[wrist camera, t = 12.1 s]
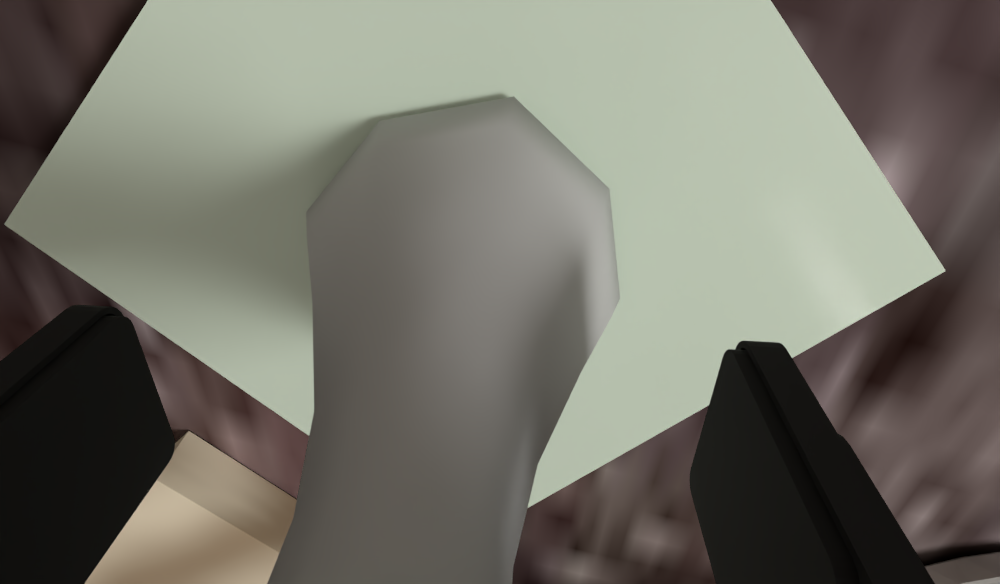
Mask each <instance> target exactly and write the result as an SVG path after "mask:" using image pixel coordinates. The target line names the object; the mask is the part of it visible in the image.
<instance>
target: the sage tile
mask: <svg viewBox="0 0 1000 584" xmlns="http://www.w3.org/2000/svg"><path fill="white" fill-rule="evenodd" d="M513 96H514V97H515V98H516V99H517V100H518V101H519V102H520V103H521V104H522V105H523V106H524V107H525V108H526V109H527V110H528V111H529V112H530V113H532V114H533V115H534V116H535V117H536V118H537V119H538V120H539V121H540V122H541V123H542V124H543V125H544V126H545V127H546V128H547V129H548V130H549V131H550V132H551V133H552V134H553V135H554V136H555V137H556V138H557V139H558V140H560V141H561V142H562V143H563V144H564V145H565V146H566V147H567V148H568V149H569V150H570V151H571V152H572V153H573V154H574V155H575V156H576V157H577V158H578V159H579V160H580V161H581V162H582V163H583V164H584V165H585V166H587V167H588V168H589V169H590V170H591V171H592V172H593V173H594V174H595V175H596V176H597V177H598V178H599V179H600V180H601V181H602V182H603V183H604V184H605V185H606V186H607V187H608V188H609V189H610V199H611V209H612V220H613V230H614V240H615V250H616V261H617V271H618V281H619V291H620V300H619V302H618V304H617V306H616V309H615V311H614V313H613V315H612V317H611V319H610V321H609V322H608V324H607V326H606V328H605V330H604V332H603V333H602V335H601V337H600V339H599V341H598V342H597V344H596V346H595V348H594V350H593V351H592V353H591V355H590V357H589V359H588V361H587V362H586V364H585V366H584V368H583V370H582V371H581V373H580V376H579V378H578V380H577V382H576V384H575V386H574V388H573V390H572V393H571V395H570V397H569V399H568V401H567V403H566V405H565V407H564V410H563V412H562V414H561V416H560V418H559V420H558V422H557V425H556V427H555V429H554V431H553V433H552V435H551V437H550V439H549V442H548V444H547V446H546V448H545V450H544V452H543V454H542V456H541V459H540V461H539V463H538V465H537V470H536V474H535V478H534V482H533V486H532V491H531V495H530V499H529V503H528V507H530V506H532V505H534V504H535V503H537V502H539V501H541V500H542V499H544V498H546V497H548V496H550V495H551V494H553V493H555V492H557V491H558V490H560V489H562V488H564V487H565V486H567V485H569V484H571V483H572V482H574V481H576V480H578V479H580V478H581V477H583V476H585V475H587V474H588V473H590V472H592V471H594V470H595V469H597V468H599V467H601V466H602V465H604V464H606V463H608V462H609V461H611V460H613V459H615V458H617V457H618V456H620V455H622V454H624V453H625V452H627V451H629V450H631V449H632V448H634V447H636V446H638V445H639V444H641V443H643V442H645V441H647V440H648V439H650V438H652V437H654V436H655V435H657V434H659V433H661V432H662V431H664V430H666V429H668V428H669V427H671V426H673V425H675V424H676V423H678V422H680V421H682V420H684V419H685V418H687V417H689V416H691V415H692V414H694V413H696V412H698V411H699V410H701V409H703V408H705V407H706V406H708V405H709V404H710V400H711V397H712V393H713V390H714V386H715V383H716V379H717V376H718V372H719V369H720V365H721V362H722V358H723V355H724V353H725V351H726V350H728V349H734V350H735V349H736V346H737V345H738V343H739V342H741V341H761V342H778V343H781V344H783V345H784V347H785V348H786V349H787V351H788V353H789V354H790V356H791V358H793V357H795V356H796V355H798V354H800V353H802V352H803V351H805V350H807V349H809V348H811V347H812V346H814V345H816V344H818V343H819V342H821V341H823V340H825V339H826V338H828V337H830V336H832V335H833V334H835V333H837V332H839V331H840V330H842V329H844V328H846V327H848V326H849V325H851V324H853V323H855V322H856V321H858V320H860V319H862V318H863V317H865V316H867V315H869V314H870V313H872V312H874V311H876V310H878V309H879V308H881V307H883V306H885V305H886V304H888V303H890V302H892V301H893V300H895V299H897V298H899V297H900V296H902V295H904V294H906V293H907V292H909V291H911V290H913V289H915V288H916V287H918V286H920V285H922V284H923V283H925V282H927V281H929V280H930V279H932V278H934V277H936V276H937V275H939V274H941V273H943V272H945V269H944V268H943V266H942V264H941V263H940V261H939V260H938V258H937V257H936V255H935V254H934V252H933V251H932V249H931V247H930V246H929V244H928V243H927V241H926V240H925V238H924V237H923V235H922V234H921V232H920V230H919V229H918V227H917V226H916V224H915V223H914V221H913V220H912V218H911V217H910V215H909V213H908V212H907V210H906V209H905V207H904V206H903V204H902V203H901V201H900V200H899V198H898V196H897V195H896V193H895V192H894V190H893V189H892V187H891V186H890V184H889V183H888V181H887V179H886V178H885V176H884V175H883V173H882V172H881V170H880V169H879V167H878V166H877V164H876V162H875V161H874V159H873V158H872V156H871V155H870V153H869V152H868V150H867V149H866V147H865V145H864V144H863V142H862V141H861V139H860V138H859V136H858V135H857V133H856V132H855V130H854V128H853V127H852V125H851V124H850V122H849V121H848V119H847V118H846V116H845V115H844V113H843V111H842V110H841V108H840V107H839V105H838V104H837V102H836V101H835V99H834V98H833V96H832V94H831V93H830V91H829V90H828V88H827V87H826V85H825V84H824V82H823V81H822V79H821V77H820V76H819V74H818V73H817V71H816V70H815V68H814V67H813V65H812V64H811V62H810V60H809V59H808V57H807V56H806V54H805V53H804V51H803V50H802V48H801V47H800V45H799V43H798V42H797V40H796V39H795V37H794V36H793V34H792V33H791V31H790V30H789V28H788V26H787V25H786V23H785V22H784V20H783V19H782V17H781V16H780V14H779V13H778V11H777V9H776V8H775V6H774V5H773V3H772V2H771V0H148V1H147V3H146V4H145V6H144V7H143V9H142V10H141V12H140V13H139V15H138V17H137V18H136V20H135V21H134V23H133V24H132V26H131V27H130V29H129V31H128V32H127V34H126V35H125V37H124V38H123V40H122V41H121V43H120V45H119V46H118V48H117V49H116V51H115V52H114V54H113V55H112V57H111V59H110V60H109V62H108V63H107V65H106V66H105V68H104V70H103V71H102V73H101V74H100V76H99V77H98V79H97V80H96V82H95V84H94V85H93V87H92V88H91V90H90V91H89V93H88V94H87V96H86V98H85V99H84V101H83V102H82V104H81V105H80V107H79V108H78V110H77V112H76V113H75V115H74V116H73V118H72V119H71V121H70V122H69V124H68V126H67V127H66V129H65V130H64V132H63V133H62V135H61V137H60V138H59V140H58V141H57V143H56V144H55V146H54V147H53V149H52V151H51V152H50V154H49V155H48V157H47V158H46V160H45V161H44V163H43V165H42V166H41V168H40V169H39V171H38V172H37V174H36V175H35V177H34V179H33V180H32V182H31V183H30V185H29V186H28V188H27V189H26V191H25V193H24V194H23V196H22V197H21V199H20V200H19V202H18V204H17V205H16V207H15V208H14V210H13V211H12V213H11V214H10V216H9V218H8V219H7V221H6V222H5V224H4V225H6V226H7V227H8V228H10V229H11V230H13V231H14V232H16V233H17V234H19V235H20V236H21V237H23V238H24V239H26V240H27V241H29V242H30V243H32V244H33V245H34V246H36V247H37V248H39V249H40V250H42V251H43V252H45V253H46V254H47V255H49V256H50V257H52V258H53V259H55V260H56V261H58V262H59V263H60V264H62V265H63V266H65V267H66V268H68V269H69V270H70V271H72V272H73V273H75V274H76V275H78V276H79V277H81V278H82V279H83V280H85V281H86V282H88V283H89V284H91V285H92V286H94V287H95V288H96V289H98V290H99V291H101V292H102V293H104V294H105V295H107V296H108V297H109V298H111V299H112V300H114V301H115V302H117V303H118V304H120V305H121V306H122V307H124V308H125V309H127V310H128V311H130V312H131V313H133V314H134V315H135V316H137V317H138V318H140V319H141V320H143V321H144V322H146V323H147V324H148V325H150V326H151V327H153V328H154V329H156V330H157V331H159V332H160V333H161V334H163V335H164V336H166V337H167V338H169V339H170V340H172V341H173V342H174V343H176V344H177V345H179V346H180V347H182V348H183V349H185V350H186V351H187V352H189V353H190V354H192V355H193V356H195V357H196V358H198V359H199V360H200V361H202V362H203V363H205V364H206V365H208V366H209V367H211V368H212V369H213V370H215V371H216V372H218V373H219V374H221V375H222V376H223V377H225V378H226V379H228V380H229V381H231V382H232V383H234V384H235V385H236V386H238V387H239V388H241V389H242V390H244V391H245V392H247V393H248V394H249V395H251V396H252V397H254V398H255V399H257V400H258V401H260V402H261V403H262V404H264V405H265V406H267V407H268V408H270V409H271V410H273V411H274V412H275V413H277V414H278V415H280V416H281V417H283V418H284V419H286V420H287V421H288V422H290V423H291V424H293V425H294V426H296V427H297V428H299V429H300V430H301V431H303V432H304V433H306V434H307V435H310V430H311V425H312V419H313V414H314V368H313V313H312V292H311V280H310V268H309V256H308V244H307V226H306V212H307V210H308V209H309V208H310V207H311V205H312V204H313V203H314V202H315V200H316V199H317V198H318V197H319V195H320V194H321V193H322V192H323V190H324V189H325V188H326V187H327V185H328V184H329V183H330V182H331V180H332V179H333V178H334V177H335V175H336V174H337V173H338V172H339V171H340V169H341V168H342V167H343V166H344V164H345V163H346V162H347V161H348V159H349V158H350V157H351V156H352V154H353V153H354V152H355V151H356V149H357V148H358V147H359V146H360V144H361V143H362V142H363V141H364V139H365V138H366V137H367V136H368V134H369V133H370V132H371V131H372V129H373V128H374V127H375V126H376V124H377V123H378V122H379V121H381V120H386V119H392V118H398V117H403V116H409V115H414V114H420V113H425V112H431V111H436V110H442V109H447V108H453V107H458V106H464V105H469V104H475V103H480V102H486V101H491V100H497V99H502V98H508V97H513ZM528 507H527V508H528Z"/></svg>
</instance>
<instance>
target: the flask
mask: <svg viewBox="0 0 1000 584" xmlns="http://www.w3.org/2000/svg"><path fill="white" fill-rule="evenodd" d="M306 226H307V244H308V256H309V268H310V280H311V292H312V313H313V368H314V414H313V419H312V425H311V430H310V435H309V440H308V445H307V450H306V455H305V460H304V466H303V471H302V476H301V481H300V486H299V491H298V496H297V502H296V507H295V512H294V517H293V520H292V523H291V525H290V528H289V530H288V533H287V535H286V538H285V540H284V543H283V545H282V548H281V550H280V553H279V555H278V558H277V560H276V563H275V565H274V568H273V570H272V573H271V575H270V578H269V580H268V583H267V584H512V580H513V566H514V562H515V558H516V553H517V549H518V545H519V541H520V537H521V533H522V528H523V524H524V520H525V516H526V512H527V507H528V503H529V499H530V495H531V491H532V486H533V482H534V478H535V474H536V470H537V465H538V463H539V461H540V459H541V456H542V454H543V452H544V450H545V448H546V446H547V444H548V442H549V439H550V437H551V435H552V433H553V431H554V429H555V427H556V425H557V422H558V420H559V418H560V416H561V414H562V412H563V410H564V407H565V405H566V403H567V401H568V399H569V397H570V395H571V393H572V390H573V388H574V386H575V384H576V382H577V380H578V378H579V376H580V373H581V371H582V370H583V368H584V366H585V364H586V362H587V361H588V359H589V357H590V355H591V353H592V351H593V350H594V348H595V346H596V344H597V342H598V341H599V339H600V337H601V335H602V333H603V332H604V330H605V328H606V326H607V324H608V322H609V321H610V319H611V317H612V315H613V313H614V311H615V309H616V306H617V304H618V302H619V300H620V291H619V281H618V271H617V261H616V250H615V240H614V230H613V220H612V209H611V199H610V189H609V188H608V187H607V186H606V185H605V184H604V183H603V182H602V181H601V180H600V179H599V178H598V177H597V176H596V175H595V174H594V173H593V172H592V171H591V170H590V169H589V168H588V167H587V166H585V165H584V164H583V163H582V162H581V161H580V160H579V159H578V158H577V157H576V156H575V155H574V154H573V153H572V152H571V151H570V150H569V149H568V148H567V147H566V146H565V145H564V144H563V143H562V142H561V141H560V140H558V139H557V138H556V137H555V136H554V135H553V134H552V133H551V132H550V131H549V130H548V129H547V128H546V127H545V126H544V125H543V124H542V123H541V122H540V121H539V120H538V119H537V118H536V117H535V116H534V115H533V114H532V113H530V112H529V111H528V110H527V109H526V108H525V107H524V106H523V105H522V104H521V103H520V102H519V101H518V100H517V99H516V98H515V97H514V96H513V97H508V98H502V99H497V100H491V101H486V102H480V103H475V104H469V105H464V106H458V107H453V108H447V109H442V110H436V111H431V112H425V113H420V114H414V115H409V116H403V117H398V118H392V119H386V120H381V121H379V122H378V123H377V124H376V126H375V127H374V128H373V129H372V131H371V132H370V133H369V134H368V136H367V137H366V138H365V139H364V141H363V142H362V143H361V144H360V146H359V147H358V148H357V149H356V151H355V152H354V153H353V154H352V156H351V157H350V158H349V159H348V161H347V162H346V163H345V164H344V166H343V167H342V168H341V169H340V171H339V172H338V173H337V174H336V175H335V177H334V178H333V179H332V180H331V182H330V183H329V184H328V185H327V187H326V188H325V189H324V190H323V192H322V193H321V194H320V195H319V197H318V198H317V199H316V200H315V202H314V203H313V204H312V205H311V207H310V208H309V209H308V210H307V212H306Z"/></svg>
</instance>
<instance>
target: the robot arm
mask: <svg viewBox="0 0 1000 584" xmlns="http://www.w3.org/2000/svg"><path fill="white" fill-rule="evenodd" d="M174 449H175V439H174V436H173V433H172V430H171V427H170V425H169V422H168V419H167V416H166V414H165V411H164V408H163V405H162V403H161V400H160V397H159V394H158V392H157V389H156V386H155V383H154V381H153V378H152V375H151V373H150V370H149V367H148V364H147V362H146V359H145V356H144V353H143V351H142V348H141V345H140V342H139V340H138V337H137V334H136V331H135V329H134V326H133V324H132V322H131V320H129V319H128V318H127V317H124V316H123V314H122V313H121V312H120V311H119V310H118V309H117V308H114V307H107V306H88V305H75V306H71V307H69V308H67V309H66V310H64V311H63V312H62V313H61V314H59V315H58V316H57V317H56V318H54V319H53V320H52V321H51V322H49V323H48V324H47V325H46V326H44V327H43V328H42V329H41V330H39V331H38V332H37V333H35V334H34V335H33V336H32V337H30V338H29V339H28V340H27V341H25V342H24V343H23V344H22V345H20V346H19V347H18V348H17V349H15V350H14V351H13V352H11V353H10V354H9V355H8V356H6V357H5V358H4V359H3V360H1V361H0V584H84V583H85V582H86V581H87V579H88V578H89V576H90V575H91V573H92V572H93V571H94V569H95V568H96V566H97V565H98V563H99V562H100V561H101V559H102V558H103V556H104V555H105V553H106V552H107V551H108V549H109V548H110V546H111V545H112V543H113V542H114V541H115V539H116V538H117V536H118V535H119V533H120V532H121V531H122V529H123V528H124V526H125V525H126V523H127V522H128V521H129V519H130V518H131V516H132V515H133V513H134V512H135V511H136V509H137V508H138V506H139V505H140V503H141V502H142V500H143V499H144V498H145V496H146V495H147V493H148V492H149V490H150V489H151V488H152V486H153V485H154V483H155V482H156V480H157V479H158V478H159V476H160V475H161V473H162V472H163V470H164V469H165V468H166V466H167V465H168V463H169V462H170V460H171V458H172V456H173V453H174ZM690 489H691V494H692V498H693V501H694V505H695V509H696V512H697V516H698V519H699V523H700V527H701V530H702V534H703V537H704V541H705V545H706V548H707V552H708V555H709V559H710V563H711V566H712V570H713V574H714V577H715V581H716V584H1000V552H994V553H987V554H979V555H972V556H965V557H960V558H956V559H951V560H947V561H943V562H939V563H935V564H930V565H926V566H924V565H923V563H922V562H921V560H920V558H919V557H918V555H917V554H916V552H915V550H914V549H913V547H912V545H911V544H910V542H909V541H908V539H907V537H906V536H905V534H904V532H903V531H902V529H901V527H900V526H899V524H898V523H897V521H896V519H895V518H894V516H893V514H892V513H891V511H890V510H889V508H888V506H887V505H886V503H885V501H884V500H883V498H882V497H881V495H880V493H879V492H878V490H877V488H876V487H875V485H874V484H873V482H872V480H871V479H870V477H869V475H868V474H867V472H866V471H865V469H864V467H863V466H862V464H861V462H860V461H859V459H858V458H857V456H856V454H855V453H854V451H853V449H852V448H851V446H850V445H849V444H848V442H847V441H846V440H845V439H844V437H843V436H841V435H839V434H837V432H836V430H835V429H834V427H833V426H832V424H831V422H830V421H829V419H828V417H827V416H826V414H825V412H824V411H823V409H822V407H821V406H820V404H819V402H818V401H817V399H816V397H815V396H814V394H813V392H812V391H811V389H810V387H809V386H808V384H807V382H806V381H805V379H804V377H803V376H802V374H801V373H800V371H799V369H798V368H797V366H796V364H795V363H794V361H793V359H792V358H791V356H790V354H789V353H788V351H787V349H786V348H785V347H784V345H783V344H781V343H778V342H761V341H741V342H739V343H738V345H737V346H736V349H735V350H734V349H728V350H726V351H725V353H724V355H723V358H722V362H721V365H720V369H719V372H718V376H717V379H716V383H715V386H714V390H713V393H712V397H711V400H710V404H709V407H708V411H707V414H706V418H705V421H704V425H703V428H702V432H701V435H700V439H699V442H698V446H697V449H696V453H695V456H694V460H693V463H692V467H691V471H690Z"/></svg>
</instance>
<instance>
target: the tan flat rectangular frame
mask: <svg viewBox="0 0 1000 584" xmlns="http://www.w3.org/2000/svg"><path fill="white" fill-rule="evenodd" d="M296 502H297V500H296V499H295V498H293V497H292V496H290V495H288V494H287V493H285V492H284V491H282V490H281V489H279V488H277V487H276V486H274V485H273V484H271V483H270V482H268V481H267V480H265V479H263V478H262V477H260V476H259V475H257V474H256V473H254V472H252V471H251V470H249V469H248V468H246V467H245V466H243V465H241V464H240V463H238V462H237V461H235V460H234V459H232V458H231V457H229V456H227V455H226V454H224V453H223V452H221V451H220V450H218V449H216V448H215V447H213V446H212V445H210V444H209V443H207V442H206V441H204V440H202V439H201V438H199V437H198V436H196V435H195V434H193V433H191V432H190V431H188V432H187V433H186V434H185V435H184V436H183V437H182V438H180V439H179V440H178V441H177V442H176V443H175V449H174V453H173V456H172V458H171V460H170V462H169V463H168V465H167V466H166V468H165V469H164V470H163V472H162V473H161V475H160V476H159V478H158V479H157V480H156V482H155V483H154V485H153V486H152V488H151V489H150V490H149V492H148V493H147V495H146V496H145V498H144V499H143V500H142V502H141V503H140V505H139V506H138V508H137V509H136V511H135V512H134V513H133V515H132V516H131V518H130V519H129V521H128V522H127V523H126V525H125V526H124V528H123V529H122V531H121V532H120V533H119V535H118V536H117V538H116V539H115V541H114V542H113V543H112V545H111V546H110V548H109V549H108V551H107V552H106V553H105V555H104V556H103V558H102V559H101V561H100V562H99V563H98V565H97V566H96V568H95V569H94V571H93V572H92V573H91V575H90V576H89V578H88V579H87V581H86V582H85V583H84V584H267V583H268V580H269V578H270V575H271V573H272V570H273V568H274V565H275V563H276V560H277V558H278V555H279V553H280V550H281V548H282V545H283V543H284V540H285V538H286V535H287V533H288V530H289V528H290V525H291V523H292V520H293V517H294V512H295V507H296Z"/></svg>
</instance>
